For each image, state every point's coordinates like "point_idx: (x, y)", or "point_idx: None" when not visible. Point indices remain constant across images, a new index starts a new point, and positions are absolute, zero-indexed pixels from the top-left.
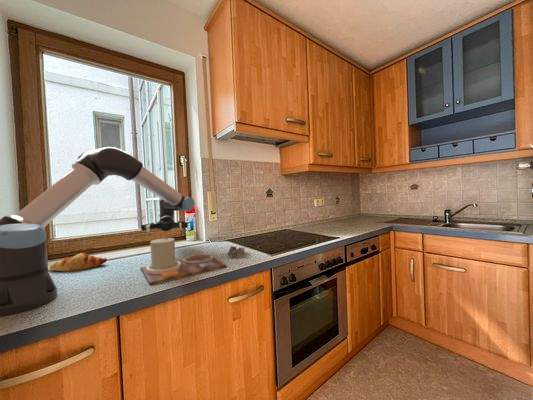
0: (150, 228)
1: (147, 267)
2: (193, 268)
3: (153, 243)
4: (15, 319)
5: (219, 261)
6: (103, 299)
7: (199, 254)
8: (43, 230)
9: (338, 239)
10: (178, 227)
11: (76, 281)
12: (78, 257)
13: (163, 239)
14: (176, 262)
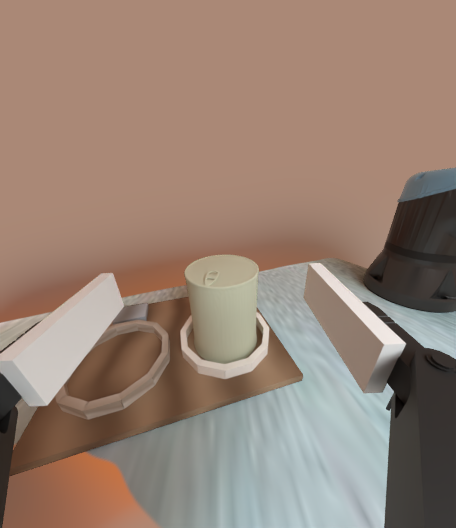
0: (395, 423)
1: (264, 325)
2: (162, 315)
3: (244, 258)
4: (355, 267)
5: None
6: (290, 276)
7: (77, 404)
8: (422, 179)
9: None
10: (6, 469)
11: (440, 349)
12: None
13: (219, 277)
14: (189, 350)
